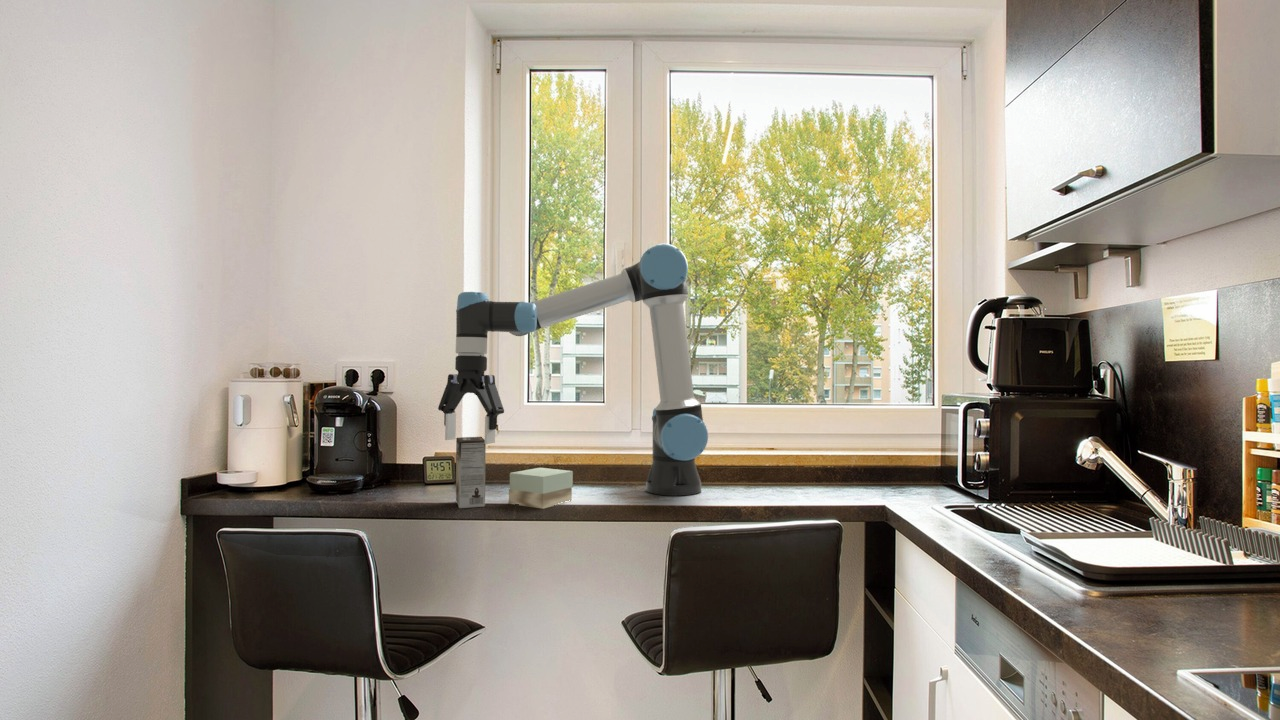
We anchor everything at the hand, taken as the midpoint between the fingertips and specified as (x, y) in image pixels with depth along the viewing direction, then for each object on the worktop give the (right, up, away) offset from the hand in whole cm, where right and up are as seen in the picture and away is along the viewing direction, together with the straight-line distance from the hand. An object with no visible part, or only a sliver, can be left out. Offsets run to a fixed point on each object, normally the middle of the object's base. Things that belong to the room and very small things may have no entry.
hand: (469, 441), depth 156 cm
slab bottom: (+17, -16, +2) cm, 24 cm away
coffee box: (0, -16, 0) cm, 16 cm away
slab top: (+17, -12, +2) cm, 21 cm away
